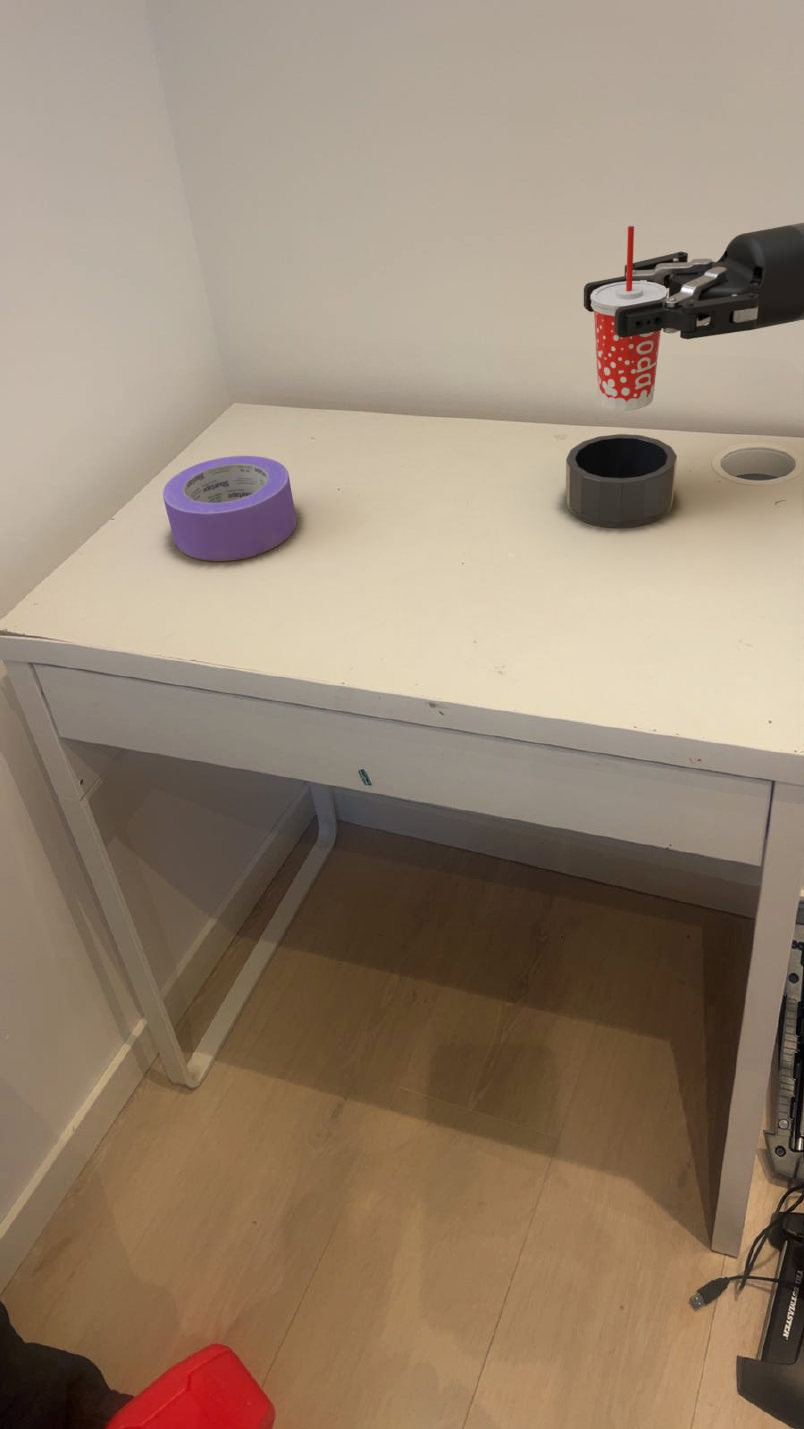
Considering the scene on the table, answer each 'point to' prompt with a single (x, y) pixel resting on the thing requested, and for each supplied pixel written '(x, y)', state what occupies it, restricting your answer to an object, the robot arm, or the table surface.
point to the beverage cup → (625, 342)
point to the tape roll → (230, 507)
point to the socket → (620, 480)
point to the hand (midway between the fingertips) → (601, 310)
